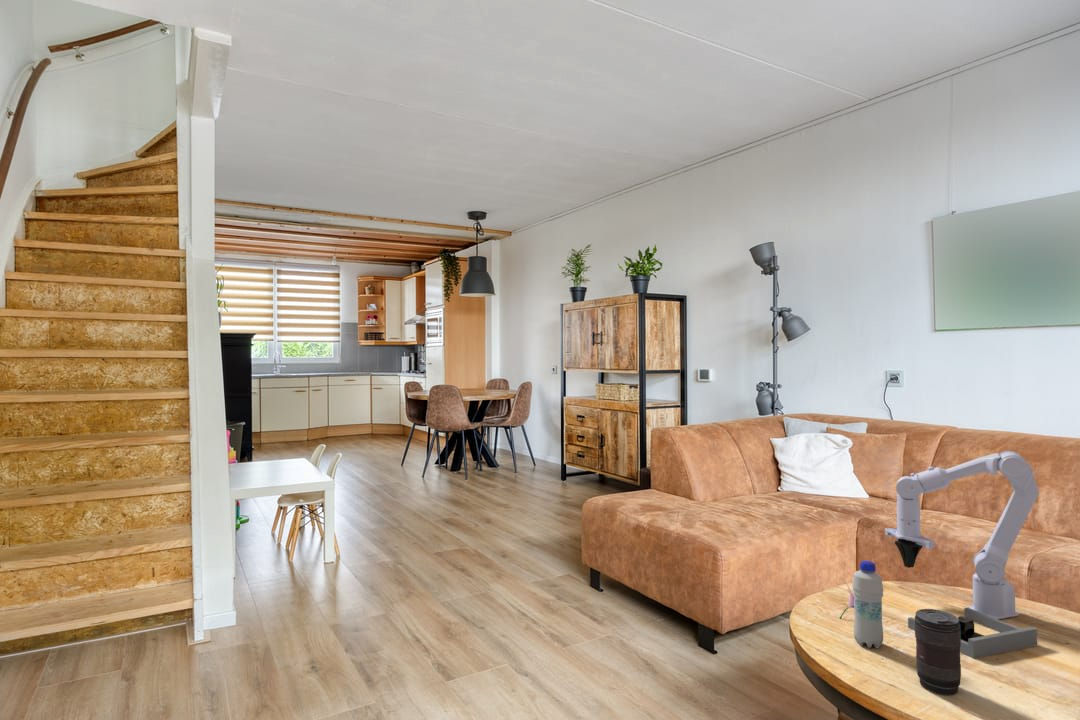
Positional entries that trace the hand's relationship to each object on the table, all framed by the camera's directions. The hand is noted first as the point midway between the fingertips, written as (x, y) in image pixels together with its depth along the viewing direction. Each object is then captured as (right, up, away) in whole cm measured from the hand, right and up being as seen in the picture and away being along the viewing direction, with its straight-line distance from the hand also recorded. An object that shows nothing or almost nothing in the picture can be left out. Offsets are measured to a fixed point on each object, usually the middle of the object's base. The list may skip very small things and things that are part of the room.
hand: (909, 566), depth 174 cm
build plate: (0, -10, -23) cm, 25 cm away
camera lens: (-22, -10, -47) cm, 53 cm away
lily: (-22, -10, -13) cm, 27 cm away
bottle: (-26, -10, -27) cm, 39 cm away
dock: (+1, -9, -23) cm, 25 cm away
